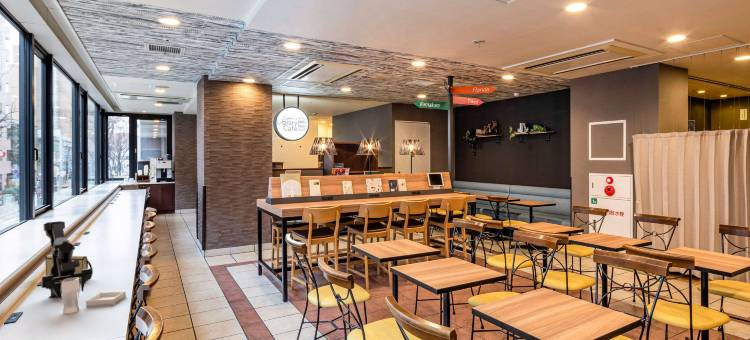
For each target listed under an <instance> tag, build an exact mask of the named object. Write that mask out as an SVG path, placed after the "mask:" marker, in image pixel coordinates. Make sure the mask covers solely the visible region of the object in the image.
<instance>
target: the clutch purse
mask: <svg viewBox="0 0 750 340" xmlns="http://www.w3.org/2000/svg"><path fill="white" fill-rule="evenodd" d="M71 258H72V262H74V260H79V263H80V266H79V267H76V268H75V272H74V273H75V274H78V273H81V271H82V270H84V269H89V268H90V269H92V272H93V273H94V270H93V266H92V264H91V261H89V260H88V256H86V255H72V257H71ZM44 259H45V276H48V275H49V274H50V270H51V268H52V267H53V262H52V254H51V255H50V254H46V255H45V256H44ZM93 273H92V275H94V274H93ZM79 283H81V277H80V278H79Z"/></svg>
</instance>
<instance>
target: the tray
mask: <svg viewBox="0 0 750 340" xmlns="http://www.w3.org/2000/svg"><path fill="white" fill-rule="evenodd" d="M126 297H127V292H126V291H125V290H123V291H120V290H119V291H105V292H103V291H102V292H99V293H96V294H95V295H93V296H92V297H90V298H88V299H86V300H85V307H86V308H94V307H109V306H111V307H112V306H115V305H116V304H118V303H119V302H121V301H122V300H123V299H125V298H126Z"/></svg>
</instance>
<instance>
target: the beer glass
mask: <svg viewBox="0 0 750 340" xmlns="http://www.w3.org/2000/svg"><path fill="white" fill-rule="evenodd" d="M80 288H81V283H80V282H79V278H78V277H73V278H66V279H63V280H61V296H62V297H61V300H62V303H63V310H62V314H63V315H72V314H71V313H73V314H76V313H78V312H79V311H80V306H79V297H80V292H81V291H80V290H81V289H80ZM75 312H76V313H75Z"/></svg>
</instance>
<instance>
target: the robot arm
mask: <svg viewBox="0 0 750 340" xmlns="http://www.w3.org/2000/svg"><path fill="white" fill-rule="evenodd" d="M65 229H66V222H65V221H62V220H54V221H46V223H44V224H43V232H45V235H46V236H47V237H48V238H49V240H50V241H49V242H50V249H51V255H52V262H53V267H52V268H51V270H50V274H49V275H48V276H46V275H44V276H42V277H41V280H40V281H41V282H40V283H41V284H40V285H41V288H43V289H46V290H47V289H48V290H49V291H50V295H49V296H48V299H50V298H62V296H61V280H63V279H66V278H73V277H78V278H80V277H81V282H80V288H81V289H80V290H81V291H82V292H84V288H85V284H86V282H88V281H89V280H91V279H92V276H93V274H92V273H94V271H93V272H92V269H93V268H92V269H90V267H88V269H84V270H82V271H81V273H78V274H75V273H74V272H75V268H76V267H79V266H80V263H79V260H74V262H72V258H71V257H72V256H74V250H75V249H76V247H75V246H74V244H72V243H71V242H70V240H69V239H67V238H66V235H65V233H64V231H65Z"/></svg>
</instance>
